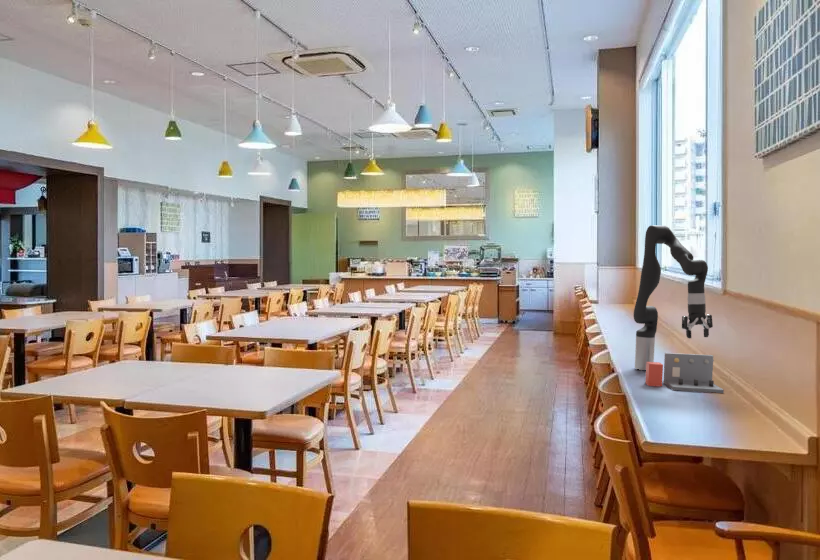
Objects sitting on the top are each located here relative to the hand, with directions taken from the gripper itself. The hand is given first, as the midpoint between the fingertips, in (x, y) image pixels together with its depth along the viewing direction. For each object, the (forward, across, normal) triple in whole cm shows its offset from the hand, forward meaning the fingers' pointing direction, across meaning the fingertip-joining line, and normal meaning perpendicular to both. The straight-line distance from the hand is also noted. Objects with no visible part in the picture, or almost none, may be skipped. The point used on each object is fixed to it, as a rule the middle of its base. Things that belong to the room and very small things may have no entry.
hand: (697, 337), depth 292 cm
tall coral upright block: (+20, +23, 0) cm, 31 cm away
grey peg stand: (+22, +8, +7) cm, 24 cm away
